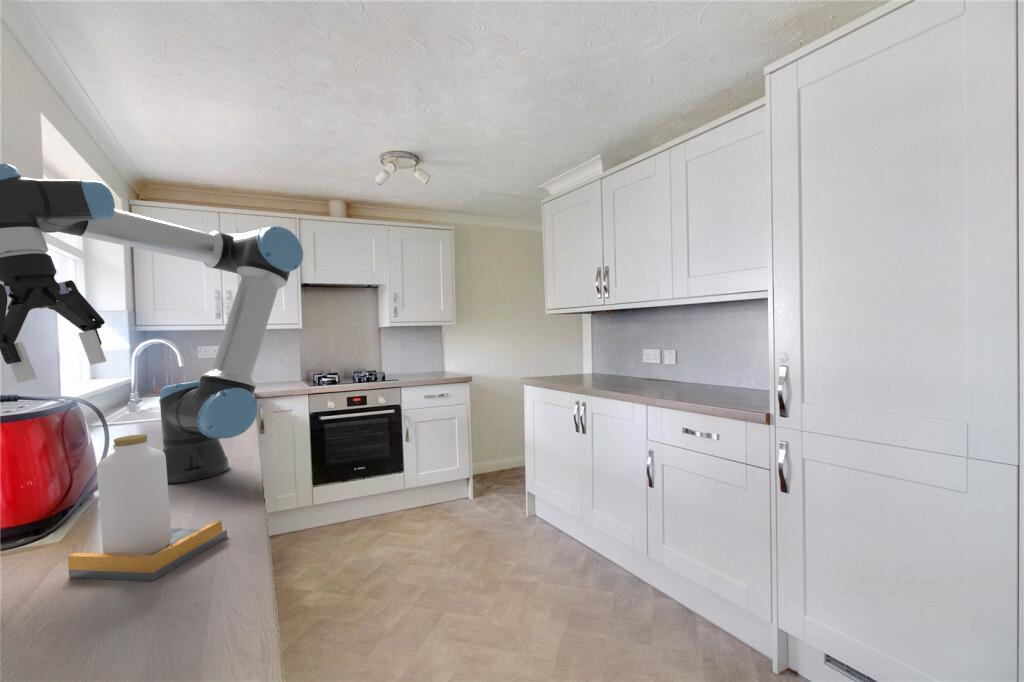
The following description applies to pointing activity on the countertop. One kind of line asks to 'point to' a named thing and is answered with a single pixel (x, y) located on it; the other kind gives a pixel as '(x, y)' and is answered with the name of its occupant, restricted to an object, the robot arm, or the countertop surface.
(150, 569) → the plate
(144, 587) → the countertop surface
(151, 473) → the white bottle
